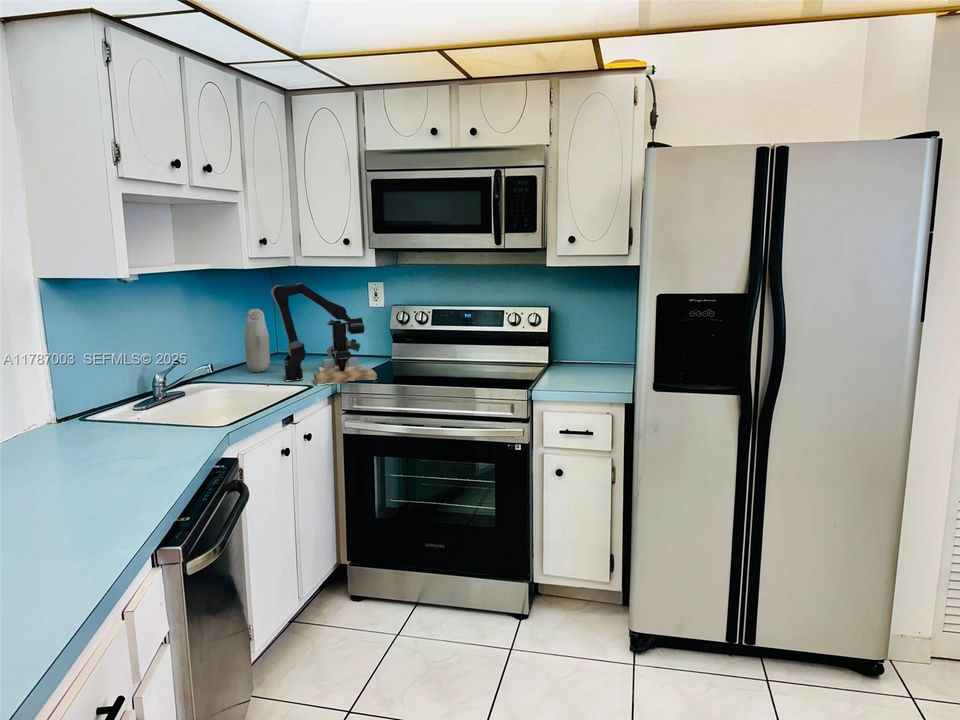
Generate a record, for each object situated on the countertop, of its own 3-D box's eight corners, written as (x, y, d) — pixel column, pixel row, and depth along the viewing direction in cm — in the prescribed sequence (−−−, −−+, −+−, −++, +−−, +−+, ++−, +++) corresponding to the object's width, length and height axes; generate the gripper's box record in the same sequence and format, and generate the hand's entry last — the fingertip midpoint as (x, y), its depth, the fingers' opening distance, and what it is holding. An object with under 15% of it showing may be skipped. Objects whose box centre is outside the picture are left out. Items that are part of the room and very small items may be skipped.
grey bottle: (243, 371, 306) (239, 308, 301) (266, 368, 312) (262, 306, 307) (251, 375, 298) (246, 310, 293) (274, 372, 304) (270, 308, 299)
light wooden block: (320, 379, 290) (320, 369, 289) (319, 376, 295) (318, 367, 294) (363, 375, 295) (363, 366, 295) (361, 373, 300) (361, 364, 300)
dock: (317, 385, 275) (316, 378, 274) (314, 380, 285) (313, 373, 285) (377, 381, 282) (376, 373, 282) (372, 376, 293) (372, 369, 292)
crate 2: (348, 367, 293) (347, 359, 293) (346, 365, 297) (346, 357, 296) (357, 366, 295) (357, 358, 294) (356, 365, 298) (355, 357, 298)
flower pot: (327, 368, 312) (326, 348, 310) (332, 364, 321) (331, 345, 319) (346, 368, 312) (345, 348, 310) (350, 364, 320) (349, 345, 319)
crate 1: (325, 369, 290) (324, 360, 290) (324, 367, 294) (323, 359, 293) (334, 368, 291) (334, 360, 291) (333, 366, 295) (333, 358, 295)
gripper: (362, 337, 286) (363, 374, 288) (355, 331, 303) (356, 366, 306) (334, 338, 282) (336, 376, 285) (329, 332, 300) (331, 368, 302)
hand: (341, 371), depth 295 cm, fingers open, 9 cm apart
